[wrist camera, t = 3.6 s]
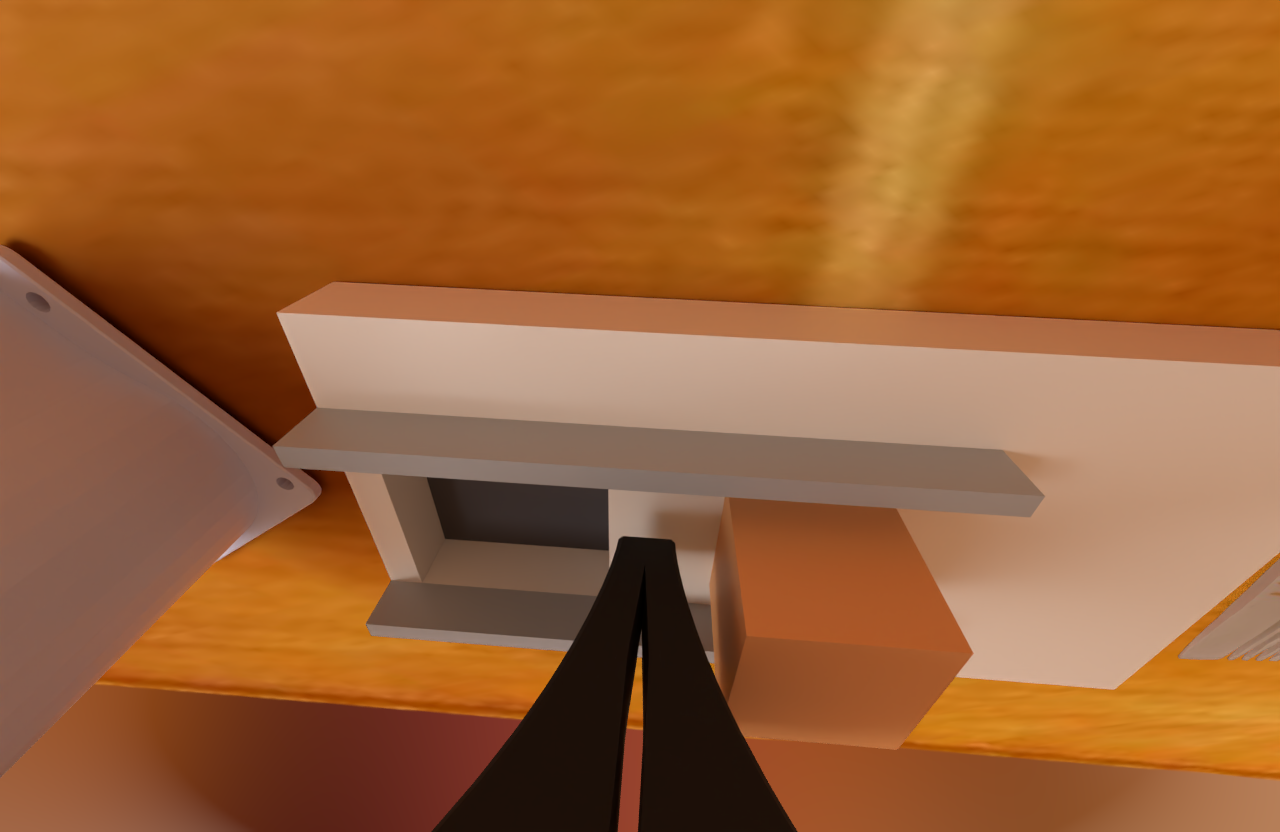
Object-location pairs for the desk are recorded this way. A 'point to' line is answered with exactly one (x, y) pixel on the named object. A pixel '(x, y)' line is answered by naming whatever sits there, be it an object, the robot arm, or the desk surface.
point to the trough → (794, 457)
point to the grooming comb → (1244, 624)
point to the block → (827, 623)
